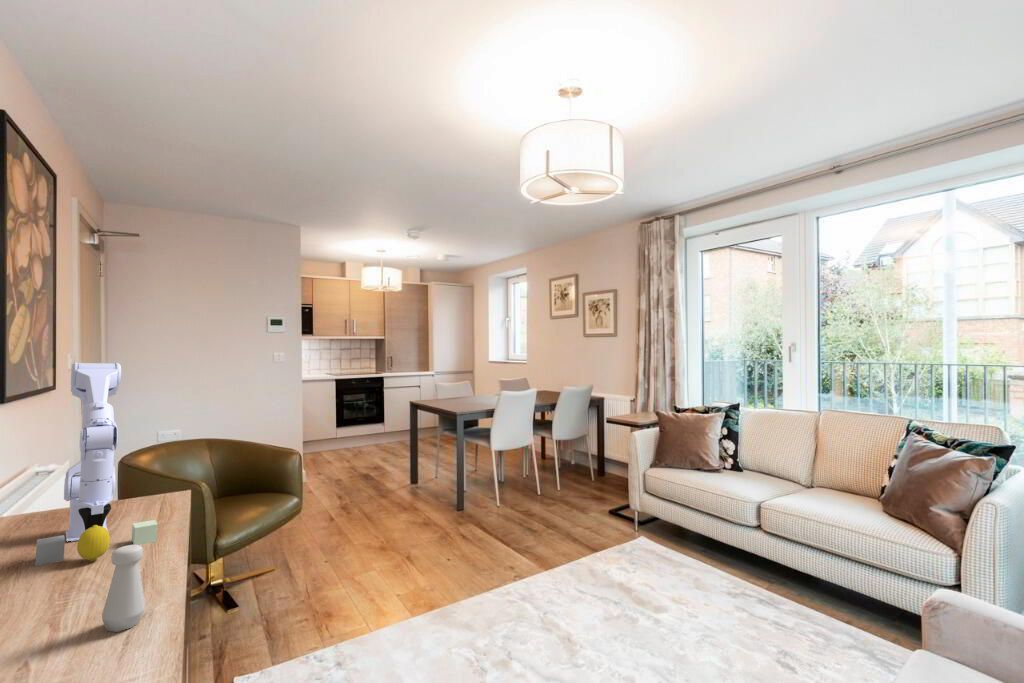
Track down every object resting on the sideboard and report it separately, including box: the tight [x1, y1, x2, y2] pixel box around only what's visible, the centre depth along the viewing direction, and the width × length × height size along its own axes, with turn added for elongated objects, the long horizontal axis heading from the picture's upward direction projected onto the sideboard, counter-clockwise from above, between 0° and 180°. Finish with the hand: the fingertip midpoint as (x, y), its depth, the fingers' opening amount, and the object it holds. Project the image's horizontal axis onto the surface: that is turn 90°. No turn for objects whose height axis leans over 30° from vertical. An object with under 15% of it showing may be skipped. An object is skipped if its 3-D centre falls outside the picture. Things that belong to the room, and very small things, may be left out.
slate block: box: [35, 534, 66, 567], centre depth 109 cm, size 4×4×4 cm
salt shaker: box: [101, 544, 146, 633], centre depth 82 cm, size 6×6×13 cm
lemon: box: [76, 525, 111, 562], centre depth 108 cm, size 6×6×8 cm
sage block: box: [131, 519, 159, 546], centre depth 120 cm, size 4×4×4 cm
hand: (93, 539), depth 111 cm, fingers closed, pressing on lemon
